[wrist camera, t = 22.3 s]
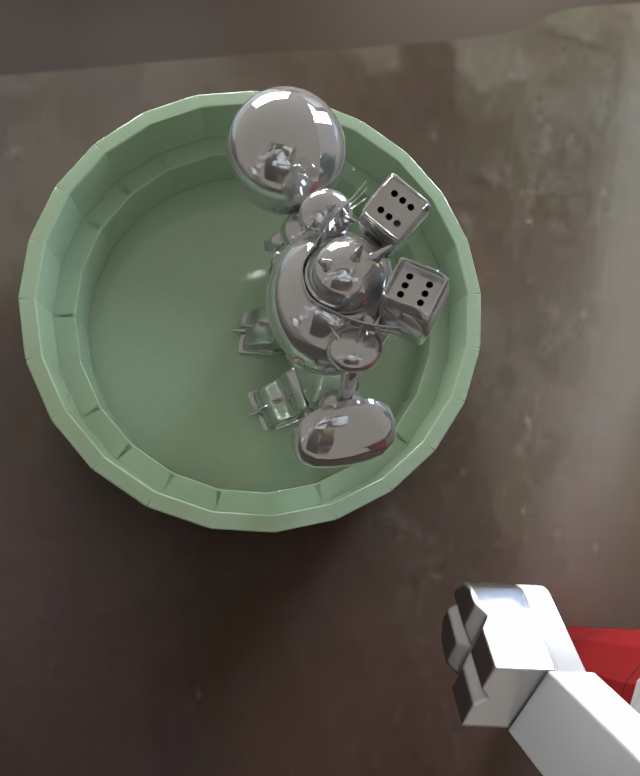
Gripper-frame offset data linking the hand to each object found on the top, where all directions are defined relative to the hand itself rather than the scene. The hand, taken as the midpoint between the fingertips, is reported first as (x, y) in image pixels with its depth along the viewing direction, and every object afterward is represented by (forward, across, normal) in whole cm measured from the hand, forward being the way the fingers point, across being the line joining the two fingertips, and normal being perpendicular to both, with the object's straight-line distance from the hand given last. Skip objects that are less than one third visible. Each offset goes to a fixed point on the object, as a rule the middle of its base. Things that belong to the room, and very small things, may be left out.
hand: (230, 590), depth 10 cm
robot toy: (+21, -2, +6) cm, 22 cm away
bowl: (+21, 0, +6) cm, 22 cm away
